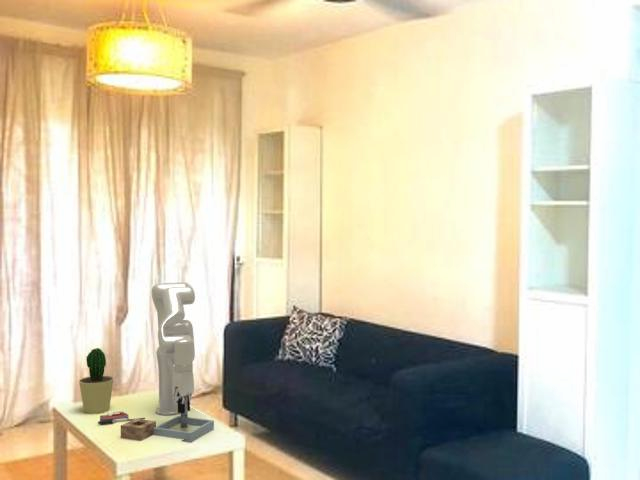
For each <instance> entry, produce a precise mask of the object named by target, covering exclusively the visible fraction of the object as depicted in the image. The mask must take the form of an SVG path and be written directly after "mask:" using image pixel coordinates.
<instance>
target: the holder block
mask: <svg viewBox="0 0 640 480" xmlns="http://www.w3.org/2000/svg"><path fill="white" fill-rule="evenodd" d="M133 419H134V420H132V421H127V422H126V423H125V422H124V423H123V424H121V425H120V439H125V440H132V441H138V442H141V441H144V440H146V439H148V438H149V437H152V436H154V435H153V428H154V427H156V426H157V421H156V420H148V419H137V418H133Z"/></svg>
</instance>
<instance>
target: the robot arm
mask: <svg viewBox="0 0 640 480" xmlns="http://www.w3.org/2000/svg"><path fill="white" fill-rule="evenodd" d="M151 298H152V302H153V305H154V308H155V310H156V314H157V341H158V347H157V349H156V360H157V367H158V368H157V369H158V407H157V408H156V409H155V413H156V414H158V415H162V416H172V415H178V414H180V413H185V404H184V396H186V394H187V393H188V392H189V395H187V397H188V412H190V411H191V397H192V395H193V394H194V390H195V379H194V372H193V368H194V367H193V366H194V364H193V363H194V360H195V356H196V352H195V351H196V350H195V337H194V335H195V334H194V328H193V323H192V322H191V321H190V320H188V319H185V316H186V313H185V308H184V305H193V304H194V303H195V300H196V293H195V291H194V288H193V286H192V285H191V284H189V283H188V282H162V283H156V284H155V285H153V286H152V288H151ZM180 398H182V399H180Z"/></svg>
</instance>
